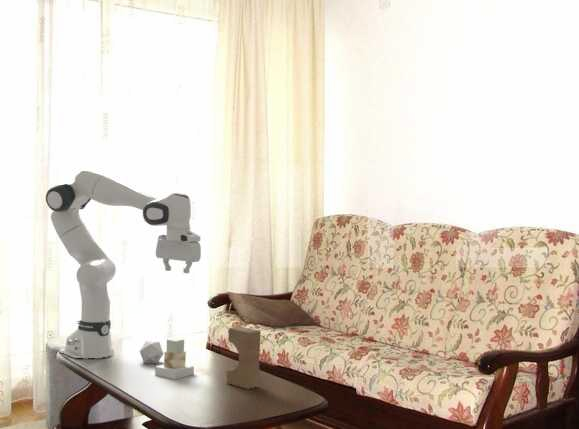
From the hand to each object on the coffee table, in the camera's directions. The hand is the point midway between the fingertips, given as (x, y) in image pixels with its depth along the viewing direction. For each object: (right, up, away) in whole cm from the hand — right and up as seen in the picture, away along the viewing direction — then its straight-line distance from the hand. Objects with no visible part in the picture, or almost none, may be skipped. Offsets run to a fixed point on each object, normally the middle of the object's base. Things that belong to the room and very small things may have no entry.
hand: (177, 271), depth 277 cm
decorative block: (+26, -39, -18) cm, 50 cm away
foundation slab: (0, -37, -7) cm, 38 cm away
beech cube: (0, -34, -7) cm, 35 cm away
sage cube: (0, -29, -7) cm, 30 cm away
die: (-12, -37, +10) cm, 40 cm away
